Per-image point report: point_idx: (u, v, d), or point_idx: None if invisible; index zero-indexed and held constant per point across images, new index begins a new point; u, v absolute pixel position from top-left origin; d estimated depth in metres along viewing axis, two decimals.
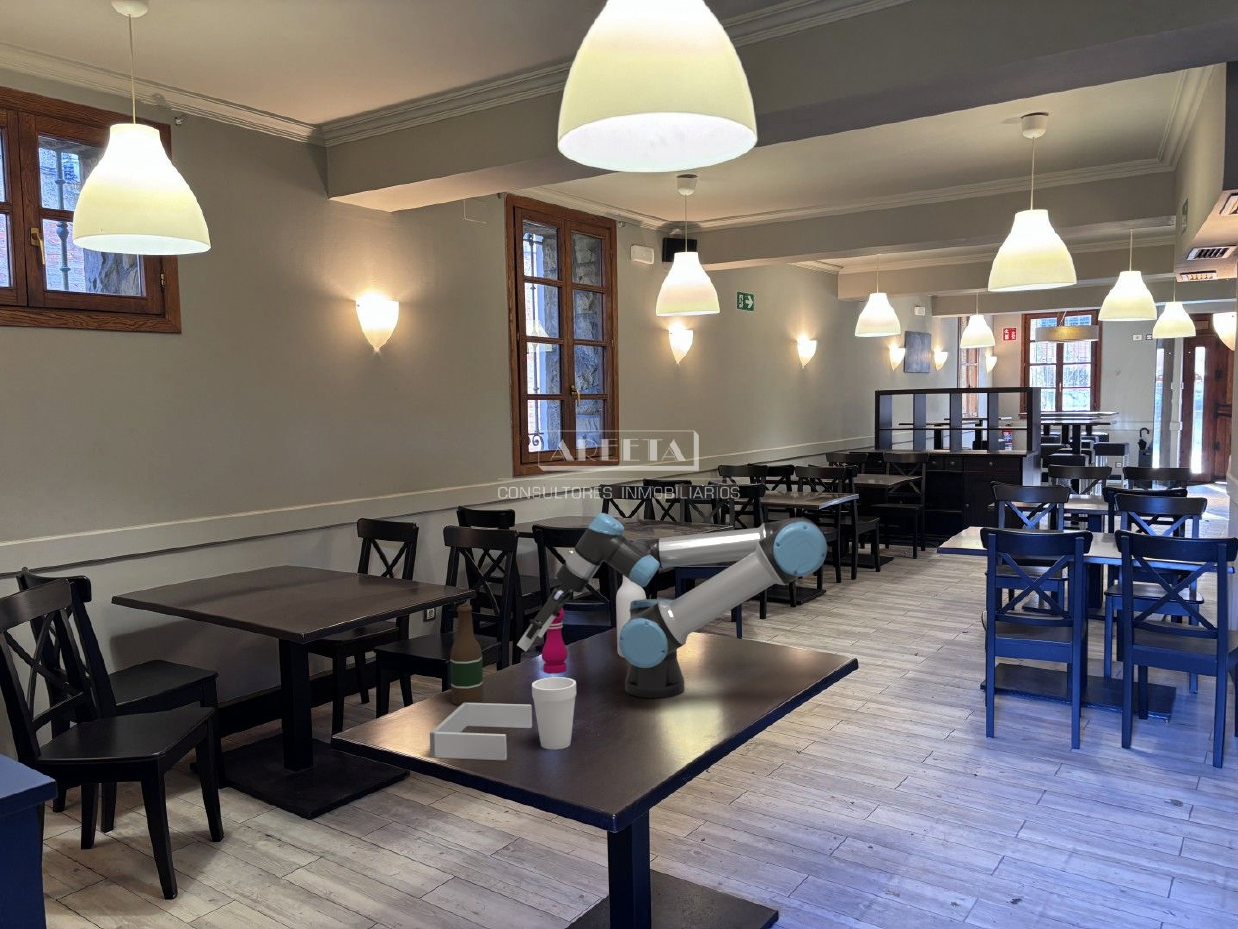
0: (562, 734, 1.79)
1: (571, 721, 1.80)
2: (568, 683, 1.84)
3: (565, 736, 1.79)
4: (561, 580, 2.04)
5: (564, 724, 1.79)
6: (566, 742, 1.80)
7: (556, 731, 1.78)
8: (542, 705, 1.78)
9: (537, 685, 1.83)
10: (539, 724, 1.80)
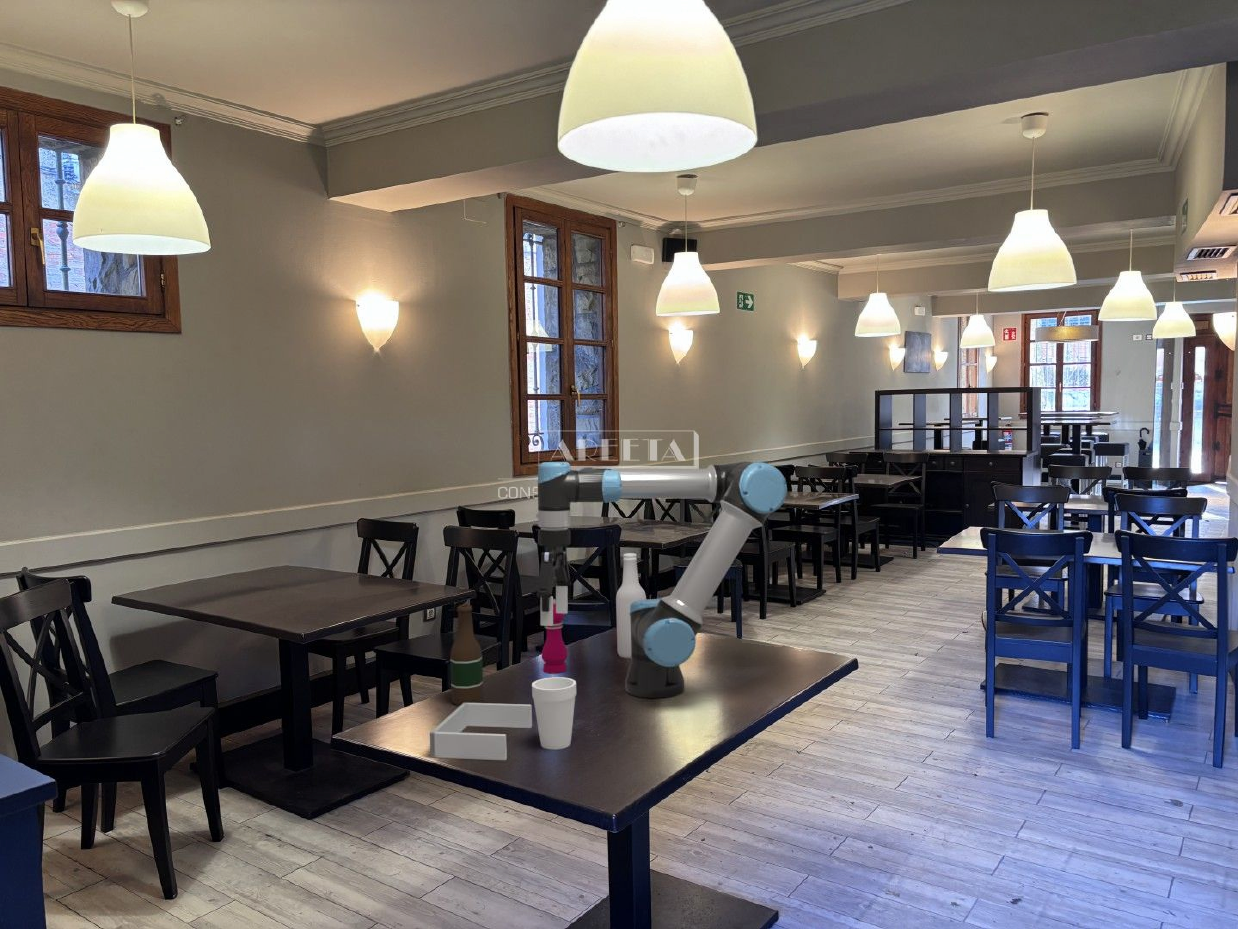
0: (562, 734, 1.79)
1: (571, 721, 1.80)
2: (568, 683, 1.84)
3: (565, 736, 1.79)
4: (543, 543, 1.96)
5: (564, 724, 1.79)
6: (566, 742, 1.80)
7: (556, 731, 1.78)
8: (542, 705, 1.78)
9: (537, 685, 1.83)
10: (539, 724, 1.80)
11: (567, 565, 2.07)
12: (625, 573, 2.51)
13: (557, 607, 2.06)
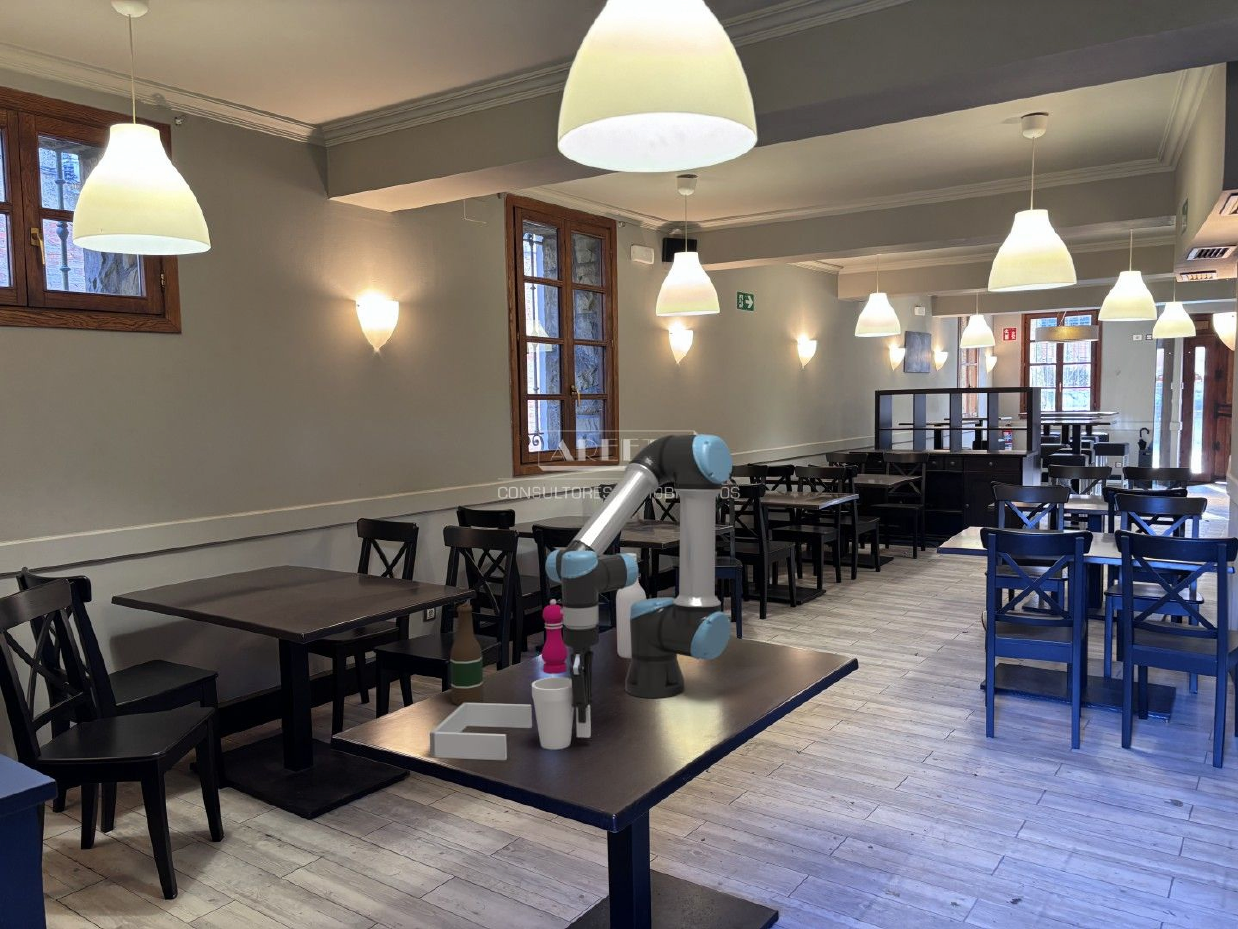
0: (562, 734, 1.79)
1: (571, 721, 1.80)
2: (568, 683, 1.84)
3: (565, 736, 1.79)
4: (570, 644, 1.77)
5: (564, 724, 1.79)
6: (566, 742, 1.80)
7: (556, 730, 1.78)
8: (542, 705, 1.78)
9: (537, 685, 1.83)
10: (539, 724, 1.80)
11: (591, 675, 1.84)
12: None
13: None
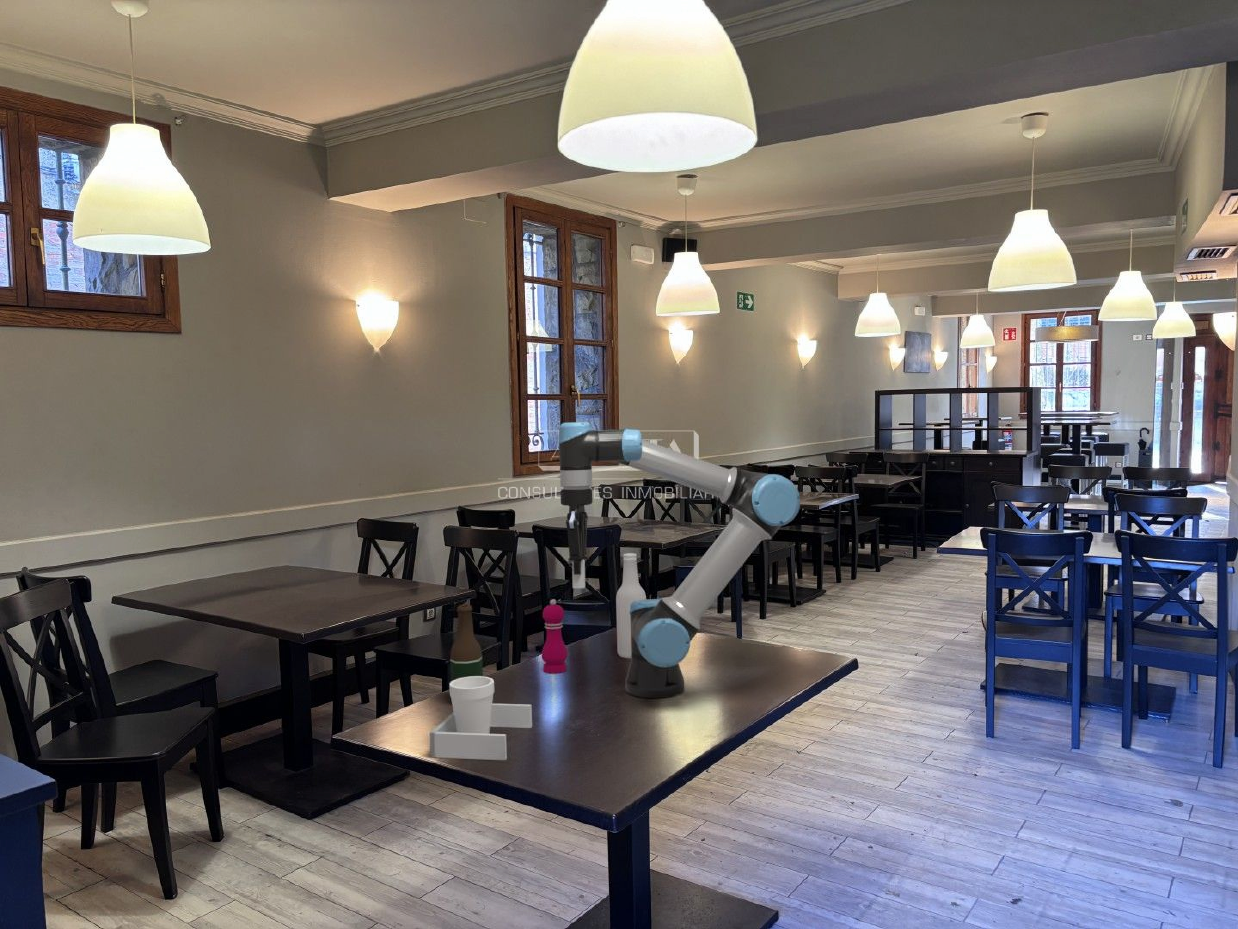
0: (482, 731, 1.81)
1: (489, 719, 1.84)
2: (484, 681, 1.87)
3: (484, 733, 1.82)
4: (566, 502, 1.98)
5: (484, 721, 1.82)
6: None
7: (476, 728, 1.81)
8: (462, 704, 1.80)
9: (454, 685, 1.85)
10: (458, 723, 1.81)
11: (586, 536, 2.06)
12: (625, 573, 2.51)
13: None
